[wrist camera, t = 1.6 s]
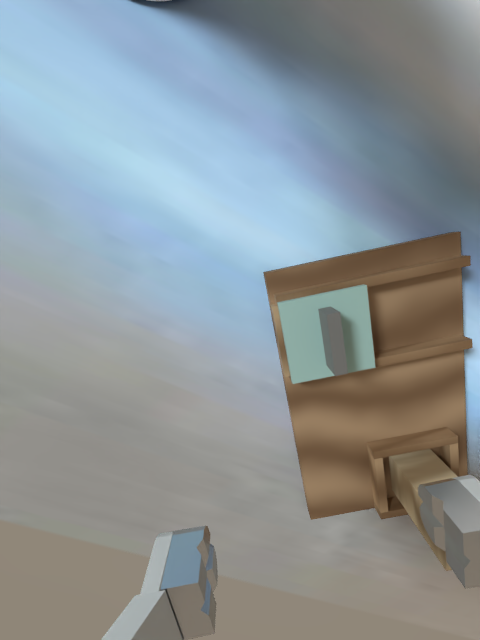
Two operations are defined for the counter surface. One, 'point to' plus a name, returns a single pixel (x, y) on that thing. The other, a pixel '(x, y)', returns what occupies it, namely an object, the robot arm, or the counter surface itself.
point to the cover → (327, 334)
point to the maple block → (406, 481)
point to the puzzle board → (381, 374)
